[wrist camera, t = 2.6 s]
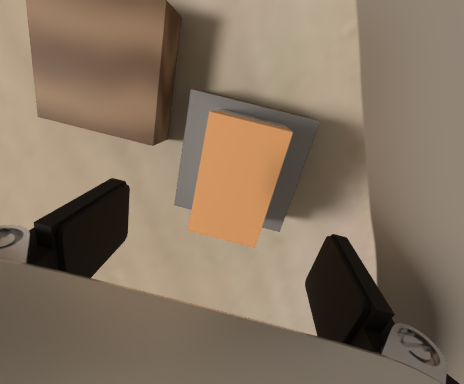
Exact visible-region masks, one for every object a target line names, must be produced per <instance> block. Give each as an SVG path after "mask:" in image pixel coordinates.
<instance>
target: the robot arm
mask: <svg viewBox="0 0 464 384" xmlns="http://www.w3.org/2000/svg"><path fill="white" fill-rule="evenodd" d="M129 192H130V188H129V186H128V185H127V184H126V182H125V181H122V180H118V179H114V178H111V179H109V180H108V181H106V182H104V183H102V184H100V185H99V186H97V187H95V188H93V189H92V190H90V191H88V192H86V193H85V194H83V195H81V196H79V197H78V198H76V199H74V200H72V201H71V202H69V203H67V204H65V205H63V206H62V207H60V208H58V209H56V210H55V211H53V212H51V213H49V214H48V215H46V216H44V217H42V218H41V219H39V220H37V221H35V222H34V228H33V229H31V230H27V229H26V228H24V227H21V226H15V225H4V226H0V384H459V383H458V382H457V381H455V380H454V379H453V378H452V377H450V376H449V375H448V374H447V364H446V360H445V358H444V356H443V354H442V353H441V351H440V350H439V349H438V348H437V346H436V345H435V344H434V343H433V342H432V341H431V340H430V339H429V338H427V337H426V336H425V335H424V334H422V333H421V332H419V331H418V330H416V329H414V328H413V327H410V326H408V325H405V324H400V323H398V324H395V323H394V321H393V320H392V317H393V316H394V313H393V311H392V309H391V308H390V306H389V305H388V303H387V302H386V300H385V298H384V297H383V295H382V293H381V292H380V290H379V289H378V287H377V285H376V284H375V282H374V281H373V279H372V277H371V276H370V274H369V273H368V271H367V269H366V268H365V266H364V264H363V263H362V261H361V260H360V258H359V256H358V255H357V253H356V252H355V250H354V248H353V247H352V245H351V244H350V242H349V240H348V239H347V238H346V237H343V236H339V235H335V234H332V235H331V236H327V237H326V239H325V241H324V243H323V245H322V247H321V249H320V251H319V253H318V256H317V258H316V260H315V262H314V264H313V266H312V268H311V270H310V272H309V274H308V276H307V278H306V282H305V287H306V291H307V295H308V300H309V304H310V308H311V312H312V316H313V320H314V324H315V328H316V332H317V336H314V335H310V334H307V333H303V332H299V331H295V330H291V329H287V328H284V327H280V326H276V325H272V324H268V323H265V322H261V321H257V320H253V319H249V318H246V317H242V316H238V315H234V314H230V313H226V312H222V311H218V310H215V309H211V308H207V307H203V306H199V305H195V304H191V303H187V302H183V301H179V300H175V299H172V298H168V297H164V296H160V295H156V294H152V293H148V292H144V291H140V290H136V289H132V288H128V287H124V286H120V285H116V284H112V283H108V282H104V281H100V280H96V279H92V278H91V277H92V276H93V275H94V274H95V273H96V272H97V270H98V269H99V268H100V267H101V266H102V265H103V264H104V263H105V262H106V261H107V260H108V258H109V257H110V256H111V255H112V254H113V253H114V252H115V251H116V250H117V249H118V248H119V246H120V245H121V244H122V243H123V242H124V241H125V239H126V237H127V234H128V214H129Z"/></svg>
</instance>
